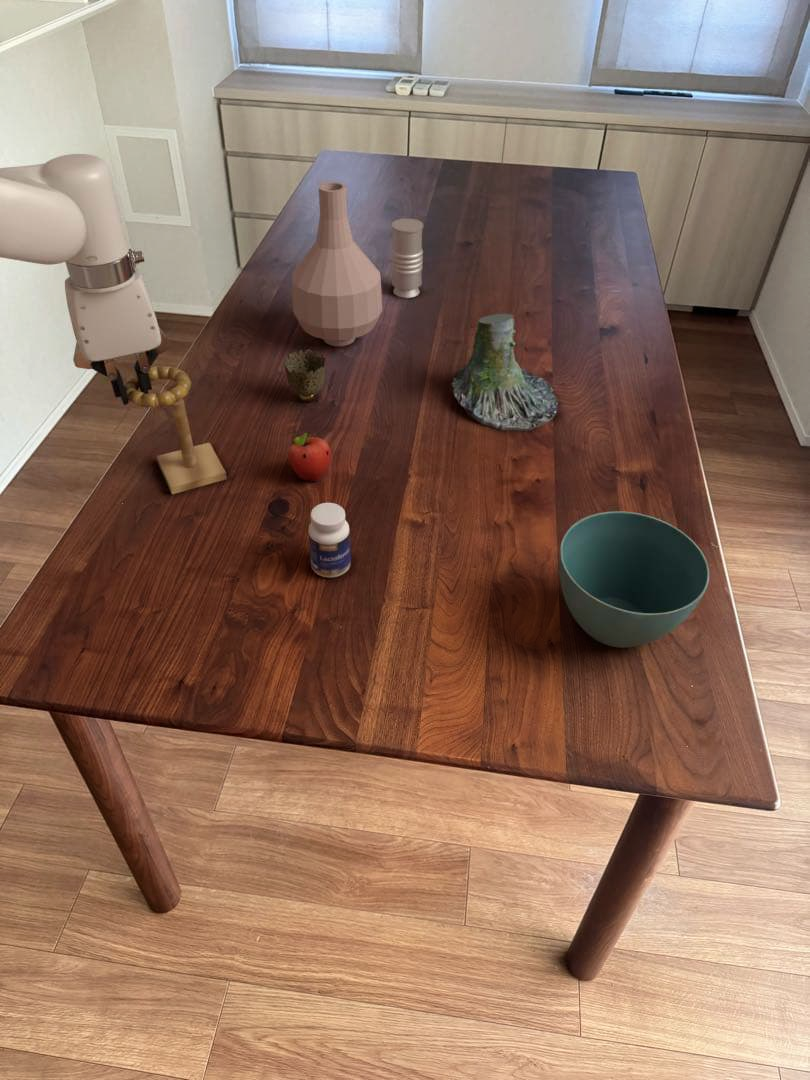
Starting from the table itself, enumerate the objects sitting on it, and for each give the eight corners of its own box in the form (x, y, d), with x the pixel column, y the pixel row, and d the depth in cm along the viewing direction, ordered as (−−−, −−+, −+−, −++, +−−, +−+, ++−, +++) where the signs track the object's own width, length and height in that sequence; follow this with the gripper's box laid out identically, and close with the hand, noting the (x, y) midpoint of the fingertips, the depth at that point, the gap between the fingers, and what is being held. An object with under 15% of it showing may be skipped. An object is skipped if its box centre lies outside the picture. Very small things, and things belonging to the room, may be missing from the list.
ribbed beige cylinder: (420, 284, 181) (422, 218, 170) (422, 298, 176) (424, 231, 165) (390, 284, 180) (390, 218, 170) (391, 298, 175) (391, 231, 165)
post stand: (171, 494, 125) (154, 423, 116) (157, 463, 131) (140, 393, 122) (227, 479, 128) (214, 408, 119) (210, 449, 134) (197, 379, 125)
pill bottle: (322, 584, 111) (318, 532, 104) (304, 560, 115) (298, 508, 108) (358, 569, 114) (356, 517, 107) (339, 546, 117) (336, 494, 110)
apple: (287, 466, 131) (281, 415, 124) (328, 460, 132) (325, 410, 125) (294, 495, 125) (289, 443, 119) (336, 489, 127) (334, 437, 120)
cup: (336, 398, 146) (334, 359, 140) (306, 414, 142) (302, 375, 136) (309, 383, 150) (306, 344, 144) (279, 398, 146) (274, 359, 140)
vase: (313, 312, 170) (303, 165, 149) (392, 324, 167) (393, 175, 146) (282, 352, 158) (267, 198, 137) (367, 366, 154) (364, 210, 134)
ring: (134, 416, 105) (131, 404, 104) (119, 383, 111) (116, 372, 110) (199, 400, 108) (196, 389, 107) (181, 369, 114) (179, 358, 113)
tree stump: (499, 447, 136) (488, 347, 127) (434, 416, 151) (420, 325, 142) (579, 410, 143) (574, 313, 133) (510, 384, 158) (501, 295, 149)
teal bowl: (664, 574, 114) (685, 510, 105) (701, 677, 100) (730, 613, 92) (538, 575, 113) (549, 510, 105) (558, 679, 100) (574, 614, 91)
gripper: (159, 244, 101) (185, 371, 114) (27, 267, 96) (69, 397, 108) (174, 268, 96) (199, 397, 109) (35, 293, 91) (79, 426, 104)
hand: (134, 396), depth 108 cm, fingers closed on ring, 2 cm apart
